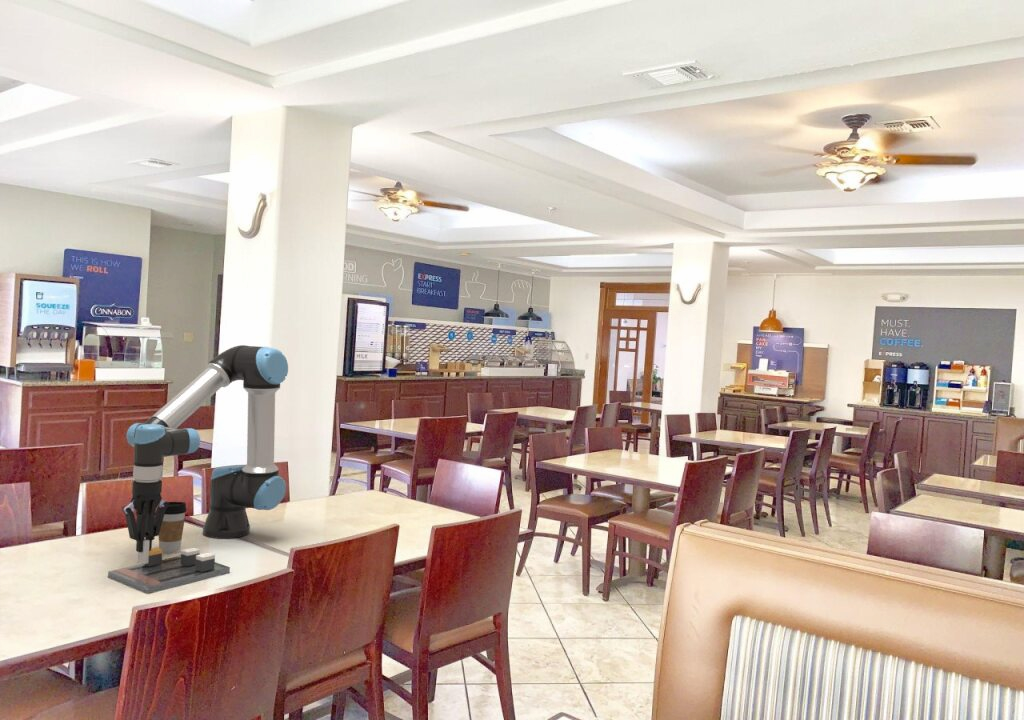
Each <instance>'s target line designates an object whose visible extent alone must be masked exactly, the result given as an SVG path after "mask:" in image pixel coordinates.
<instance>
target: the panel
mask: <svg viewBox="0 0 1024 720" xmlns="http://www.w3.org/2000/svg"><path fill="white" fill-rule="evenodd" d="M180 561H181V555H177V556H171V557H169V558H162V564H157V565H153V566H146V565H143V564H141V563H139V564H137V565H132V566H127V567H122V568H118V569H114V570H109V571H108V572H107V578H108V579H111V580H114V581H116V582H118V583H121V584H123V585H125V586H128V587H131V588H133V589H135V590H138V591H140V592H143V593H145V594H147V595H148V594H152V593H156V592H159V591H164V590H168V589H171V588H172V589H173V588H176V587H178V586H179V587H180V586H182V585H188V584H190V583H195V582H198V581H203V580H206V579H210V578H215V577H218V576H222V575H226V574H229V573H231V572H230V570H231V567H230V566H229V565H228V566H227V565H225V564H222V563H219V562H215V564H214V569H211V570H207V571H203V572H201V571H198V570H195V565H196V564H195V565H190V566H184V565H181V564H180Z"/></svg>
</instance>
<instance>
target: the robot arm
mask: <svg viewBox="0 0 1024 720" xmlns="http://www.w3.org/2000/svg"><path fill="white" fill-rule="evenodd" d="M288 374H289V363H288V360H287V357H286V356H285V354H283V352H282V351H281V350H279V349H278V348H273V347H269V346H256V345H255V346H253V345H243V344H242V345H236V346H232V347H230V348H229V349H226V350H224V351H222V352H220V353H219V354H217V355H216V356H215V357H214V358H213V359H211V360H210V361H209V362H208V363H207V364H205V366H204V370H203V371H202V372H201V373H200V374H199V375H198V376H196V378H194V379H193V380H192V381H190V383H188V384H187V386H185V387H184V388H183V389H182V390H180V391H179V392H178V393H177V394H176V395H175V396H174V397H172V399H170V400H169V401H168V402H166V403H165V405H163V406H162V407H161V408H160V409H159V410H158V411H156V412H155V413H154V414H153V415H152V416H150V418H148V420H146V421H145V422H136V423H133V424H132V425H130V427H128V429H127V432H126V436H125V438H126V441H127V443H128V444H129V445H130V446H131V447H133V469H132V472H133V473H132V479H133V481H132V487H131V488H132V489H131V494H132V498H131V500H130V503H129V504H127V506H123V507H122V508H121V510H122V512H123V514H124V515H125V520H126V525H127V526H126V527H127V531H128V534H129V535H128V536H129V539H131V540H134V541H136V548H135V551H136V552H137V554H138V555H137V563H139V564H147V563H148V560H149V550H151V548H153V544H152V543H153V541H154V540H155V537H159V533H160V529H161V525H162V522H163V518H164V514H165V511H166V509H167V507H168V505H169V502H170V501H166V500H164V499H163V498H162V495H161V493H162V488H163V487H162V486H163V481H162V479H163V475H164V474H163V473H164V472H163V470H164V458H166V457H172V456H173V457H174V456H180V455H188V454H193V453H196V451H197V450H199V447H200V445H201V436H200V435H199V432H198V431H197V430H196V429H194V428H190V427H189V428H188V427H187V428H186V427H183V428H178V427H180V426H181V424H183V423H184V422H185V421H186V420H187V419H188V418H189V417H190V416H192V415H193V414H194V413H195V412H196V411H197V410H198V409H199V408H200V407H201V406H203V404H204V403H206V402H207V401H208V400H209V399H210V398H211V397H212V396H214V394H216V393H217V392H218V391H219V390H220V389H221V388H226V387H228V386H230V384H232V383H233V382H236V381H243V384H242V385H243V386H242V389H244V390H245V391H246V392H247V434H246V436H247V439H246V464H234V465H233V464H230V465H221V466H216V467H215V468H213V470H212V472H211V478H210V491H209V497H210V498H209V511H208V514H207V516H206V519H205V521H204V524H203V527H202V535H203V536H206V537H207V538H208V537H209V538H212V539H213V538H214V539H235V538H241V537H244V536H248V535H249V534H250V531H251V524H250V522H249V517H248V514H247V510H246V509H247V508H250V509H255V510H259V511H270V510H273V509H275V508H277V507H278V506H279V504H280V503H281V502H282V501H283V499H284V496H285V495H286V490H287V489H286V488H287V483H286V481H285V480H284V478H283V477H281V476H280V475H279V467H278V466H277V465H276V464H275V433H276V431H275V430H276V429H275V424H276V423H275V422H276V421H275V420H276V417H275V416H276V393H277V391H279V390H281V383H283V382H284V381H285V380H286V377H288ZM134 512H135V513H134ZM135 516H136V517H135Z"/></svg>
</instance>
